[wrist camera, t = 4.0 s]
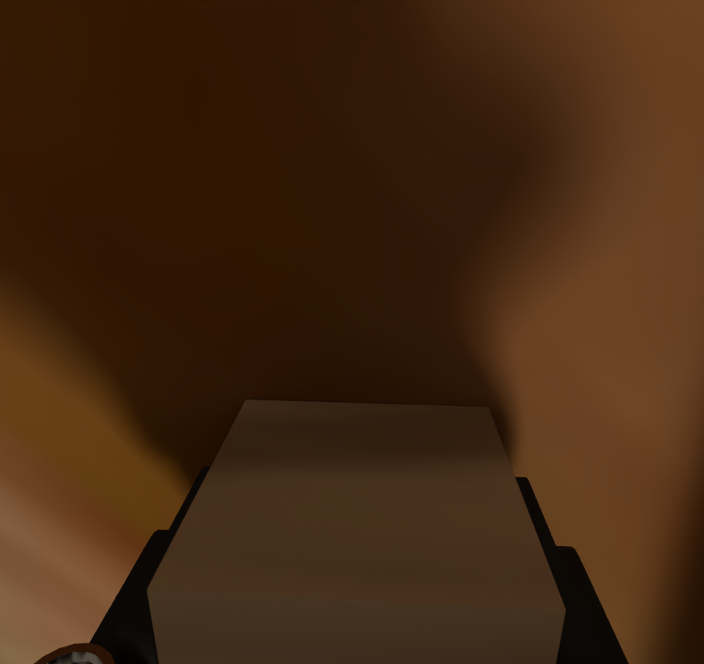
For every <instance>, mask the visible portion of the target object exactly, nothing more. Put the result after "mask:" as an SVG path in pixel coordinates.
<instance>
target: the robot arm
mask: <svg viewBox="0 0 704 664" xmlns="http://www.w3.org/2000/svg"><path fill="white" fill-rule="evenodd" d="M210 467H211V466H205V467H203V468H202V470H201V471H200V473H199V475H198V477H197V479H196V480H195V482H194V484H193V486H192V488H191V490H190V492H189V493H188V495H187V497H186V499H185V501H184V503H183V504H182V506H181V508H180V510H179V512H178V514H177V515H176V517H175V519H174V521H173V523H172V525H171V527H170V528H169V530H157V531H155V532H154V533H153V535H152V536H151V537H150V539H149V541H148V543H147V544H146V546H145V548H144V549H143V551H142V553H141V555H140V556H139V558H138V560H137V562H136V563H135V565H134V567H133V568H132V570H131V572H130V574H129V575H128V577H127V579H126V581H125V582H124V584H123V586H122V587H121V589H120V591H119V593H118V594H117V596H116V598H115V600H114V601H113V603H112V605H111V607H110V608H109V610H108V612H107V613H106V615H105V617H104V619H103V620H102V622H101V624H100V626H99V627H98V629H97V631H96V632H95V634H94V636H93V638H92V639H91V641H90V643H79V644H72V645H69V646H65V647H62V648H59V649H57V650H55V651H53V652H51V653H49V654H47V655H45V656H43V657H42V658H41V659H39V660H38V661H37V662H36V663H34V664H159V661H158V655H157V649H156V643H155V636H154V630H153V624H152V618H151V612H150V606H149V600H148V594H147V588H148V586H149V585H150V583H151V581H152V579H153V577H154V575H155V573H156V571H157V569H158V567H159V565H160V563H161V561H162V560H163V558H164V556H165V554H166V552H167V550H168V548H169V546H170V544H171V542H172V540H173V538H174V536H175V535H176V533H177V531H178V529H179V527H180V525H181V523H182V521H183V519H184V517H185V515H186V513H187V511H188V510H189V508H190V506H191V504H192V502H193V500H194V498H195V496H196V494H197V492H198V490H199V488H200V487H201V485H202V483H203V481H204V479H205V477H206V475H207V473H208V471H209V469H210ZM515 478H516V481H517V484H518V486H519V489H520V491H521V494H522V497H523V499H524V502H525V504H526V507H527V510H528V512H529V515H530V518H531V520H532V523H533V525H534V528H535V531H536V533H537V536H538V538H539V541H540V544H541V546H542V549H543V551H544V554H545V557H546V559H547V562H548V565H549V567H550V570H551V572H552V575H553V578H554V580H555V583H556V585H557V588H558V591H559V593H560V596H561V599H562V601H563V604H564V606H565V609H566V612H565V618H564V623H563V628H562V634H561V639H560V644H559V650H558V655H557V660H556V664H628V661H627V659H626V657H625V655H624V653H623V651H622V648H621V646H620V644H619V642H618V640H617V638H616V635H615V633H614V631H613V629H612V627H611V625H610V622H609V620H608V618H607V616H606V614H605V612H604V609H603V607H602V605H601V603H600V601H599V599H598V596H597V594H596V592H595V590H594V588H593V586H592V583H591V581H590V579H589V577H588V575H587V573H586V570H585V568H584V566H583V564H582V562H581V560H580V557H579V555H578V554H577V552H576V550H575V549H574V548H572V547H568V546H556V545H555V542H554V540H553V538H552V535H551V533H550V530H549V528H548V526H547V523H546V521H545V518H544V516H543V514H542V511H541V509H540V506H539V504H538V502H537V499H536V497H535V494H534V492H533V490H532V487H531V485H530V483H529V480H528V479H527V478H526V477H515Z"/></svg>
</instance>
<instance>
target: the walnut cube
mask: <svg viewBox="0 0 704 664" xmlns="http://www.w3.org/2000/svg"><path fill="white" fill-rule="evenodd" d="M147 594H148V600H149V606H150V612H151V618H152V624H153V630H154V636H155V643H156V649H157V655H158V661H159V664H556V660H557V655H558V650H559V644H560V639H561V634H562V628H563V623H564V618H565V612H566V609H565V606H564V604H563V601H562V599H561V596H560V593H559V591H558V588H557V585H556V583H555V580H554V578H553V575H552V572H551V570H550V567H549V565H548V562H547V559H546V557H545V554H544V551H543V549H542V546H541V544H540V541H539V538H538V536H537V533H536V531H535V528H534V525H533V523H532V520H531V518H530V515H529V512H528V510H527V507H526V504H525V502H524V499H523V497H522V494H521V491H520V489H519V486H518V484H517V481H516V478H515V476H514V473H513V470H512V468H511V465H510V463H509V460H508V457H507V455H506V452H505V450H504V447H503V444H502V442H501V439H500V436H499V434H498V431H497V429H496V426H495V423H494V421H493V418H492V416H491V413H490V410H489V408H488V407H476V406H443V405H410V404H378V403H345V402H312V401H279V400H245V402H244V404H243V406H242V408H241V410H240V412H239V413H238V415H237V417H236V419H235V421H234V423H233V425H232V427H231V429H230V431H229V433H228V435H227V437H226V438H225V440H224V442H223V444H222V446H221V448H220V450H219V452H218V454H217V456H216V458H215V460H214V462H213V463H212V465H211V467H210V469H209V471H208V473H207V475H206V477H205V479H204V481H203V483H202V485H201V487H200V488H199V490H198V492H197V494H196V496H195V498H194V500H193V502H192V504H191V506H190V508H189V510H188V511H187V513H186V515H185V517H184V519H183V521H182V523H181V525H180V527H179V529H178V531H177V533H176V535H175V536H174V538H173V540H172V542H171V544H170V546H169V548H168V550H167V552H166V554H165V556H164V558H163V560H162V561H161V563H160V565H159V567H158V569H157V571H156V573H155V575H154V577H153V579H152V581H151V583H150V585H149V586H148V588H147Z"/></svg>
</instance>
